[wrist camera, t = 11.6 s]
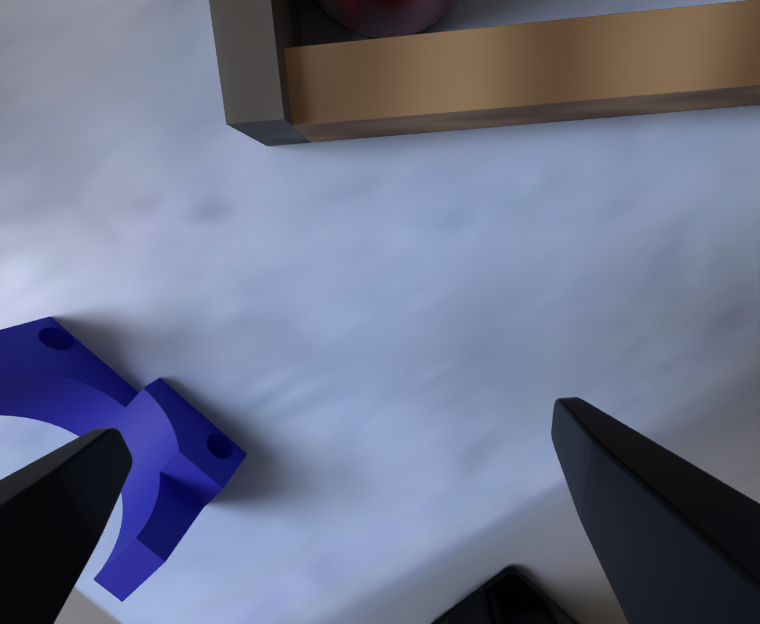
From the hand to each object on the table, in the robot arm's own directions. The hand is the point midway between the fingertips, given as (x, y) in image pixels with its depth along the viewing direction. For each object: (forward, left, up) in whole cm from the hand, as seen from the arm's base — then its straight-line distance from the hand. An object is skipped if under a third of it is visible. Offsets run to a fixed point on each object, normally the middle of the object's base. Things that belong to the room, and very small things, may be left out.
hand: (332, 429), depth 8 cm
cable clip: (+6, +13, -11) cm, 18 cm away
